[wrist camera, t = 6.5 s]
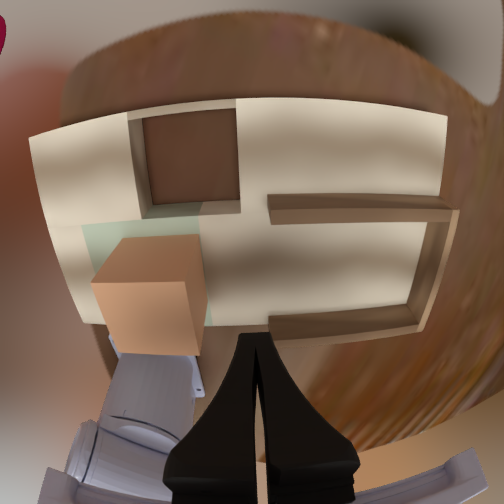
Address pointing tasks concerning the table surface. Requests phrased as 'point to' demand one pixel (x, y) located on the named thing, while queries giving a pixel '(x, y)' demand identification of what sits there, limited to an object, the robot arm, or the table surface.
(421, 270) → the wooden frame
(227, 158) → the table surface
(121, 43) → the table surface
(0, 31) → the pepper mill
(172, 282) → the cube
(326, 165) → the plate
